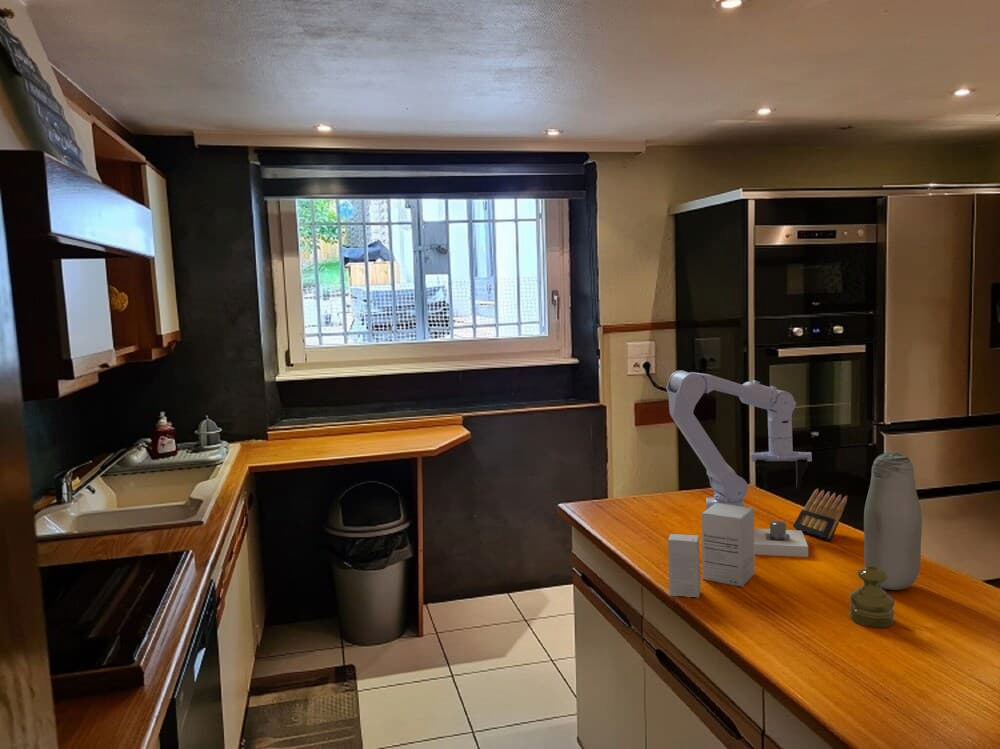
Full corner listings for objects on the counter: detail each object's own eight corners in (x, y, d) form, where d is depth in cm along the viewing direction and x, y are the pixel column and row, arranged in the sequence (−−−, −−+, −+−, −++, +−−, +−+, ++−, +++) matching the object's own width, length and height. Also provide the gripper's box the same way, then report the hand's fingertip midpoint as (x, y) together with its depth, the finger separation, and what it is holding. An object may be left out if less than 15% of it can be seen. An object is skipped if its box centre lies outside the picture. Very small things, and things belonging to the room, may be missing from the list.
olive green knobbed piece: (892, 632, 135) (893, 578, 134) (847, 623, 139) (847, 571, 138) (896, 616, 141) (896, 564, 140) (852, 609, 145) (852, 558, 144)
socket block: (753, 554, 176) (753, 544, 176) (750, 538, 188) (750, 528, 188) (808, 557, 173) (808, 546, 173) (801, 540, 185) (801, 530, 185)
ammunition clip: (830, 541, 184) (852, 498, 186) (826, 537, 183) (847, 494, 185) (796, 529, 193) (817, 489, 195) (792, 526, 192) (813, 485, 195)
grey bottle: (874, 574, 161) (875, 446, 158) (926, 586, 154) (929, 452, 151) (856, 588, 154) (857, 454, 152) (910, 601, 147) (912, 461, 144)
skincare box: (700, 591, 157) (699, 535, 155) (699, 599, 153) (698, 541, 151) (671, 588, 159) (669, 533, 157) (668, 596, 155) (667, 539, 153)
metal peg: (770, 549, 179) (770, 525, 179) (769, 544, 183) (769, 520, 182) (786, 550, 179) (786, 525, 178) (784, 545, 182) (784, 521, 181)
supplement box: (715, 566, 170) (714, 501, 168) (755, 573, 165) (755, 507, 163) (701, 579, 163) (700, 512, 161) (742, 587, 157) (741, 518, 156)
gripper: (751, 440, 191) (753, 492, 192) (812, 439, 187) (814, 492, 188) (750, 434, 197) (751, 485, 199) (809, 433, 193) (810, 485, 195)
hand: (782, 488), depth 194 cm, fingers open, 7 cm apart
